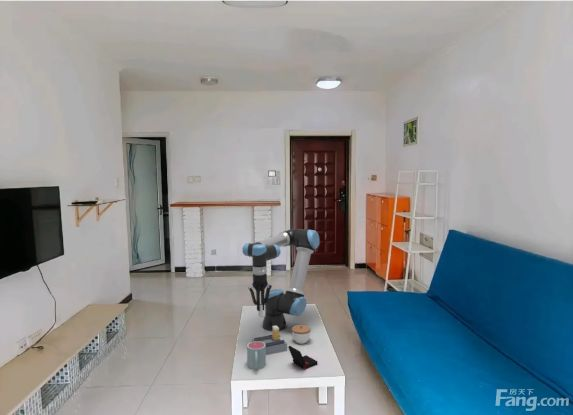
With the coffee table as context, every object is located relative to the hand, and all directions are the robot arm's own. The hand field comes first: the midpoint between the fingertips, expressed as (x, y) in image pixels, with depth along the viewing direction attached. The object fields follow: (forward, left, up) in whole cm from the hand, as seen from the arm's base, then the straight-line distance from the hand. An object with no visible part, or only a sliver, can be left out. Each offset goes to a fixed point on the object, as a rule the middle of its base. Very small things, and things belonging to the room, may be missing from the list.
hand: (260, 316), depth 200 cm
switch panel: (-5, 0, -19) cm, 20 cm away
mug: (+8, +16, -19) cm, 26 cm away
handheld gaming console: (-14, +24, -19) cm, 33 cm away
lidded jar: (-25, -1, -19) cm, 31 cm away
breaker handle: (-9, 0, -15) cm, 17 cm away
